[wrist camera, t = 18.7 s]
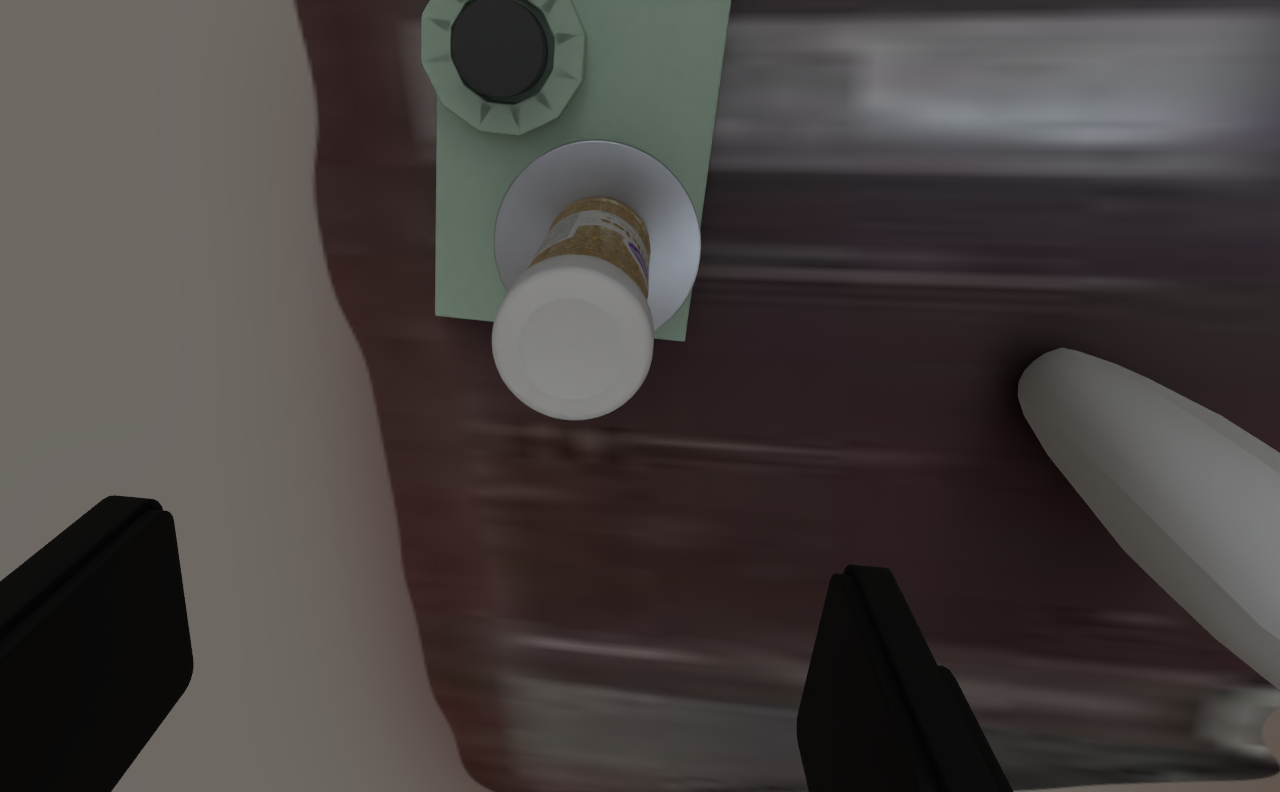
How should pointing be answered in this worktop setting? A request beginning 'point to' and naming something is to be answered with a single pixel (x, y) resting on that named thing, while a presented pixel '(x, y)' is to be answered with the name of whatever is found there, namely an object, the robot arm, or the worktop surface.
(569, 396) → the sprinkles bottle
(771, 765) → the worktop surface
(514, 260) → the platter
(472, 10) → the power button
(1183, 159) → the worktop surface
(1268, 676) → the soap bottle
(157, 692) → the robot arm
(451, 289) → the scale
